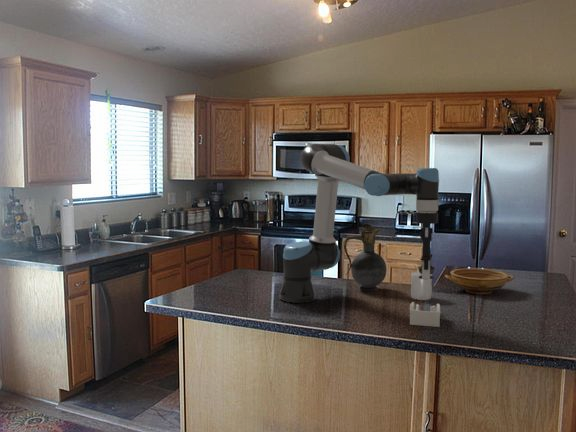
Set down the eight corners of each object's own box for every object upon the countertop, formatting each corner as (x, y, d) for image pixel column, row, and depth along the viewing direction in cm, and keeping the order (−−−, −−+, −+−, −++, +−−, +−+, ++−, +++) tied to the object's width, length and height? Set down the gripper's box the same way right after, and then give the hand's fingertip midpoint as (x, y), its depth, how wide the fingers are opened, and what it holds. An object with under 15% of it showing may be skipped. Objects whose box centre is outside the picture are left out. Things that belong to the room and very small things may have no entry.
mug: (433, 303, 211) (433, 278, 210) (412, 302, 212) (412, 277, 211) (430, 296, 223) (430, 272, 222) (410, 295, 224) (410, 271, 223)
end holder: (409, 324, 182) (409, 310, 181) (411, 315, 193) (411, 302, 193) (439, 326, 179) (439, 312, 179) (439, 317, 191) (439, 303, 190)
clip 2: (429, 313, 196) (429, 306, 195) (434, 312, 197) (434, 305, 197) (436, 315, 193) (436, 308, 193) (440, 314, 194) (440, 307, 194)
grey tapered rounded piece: (415, 276, 188) (415, 243, 187) (431, 275, 189) (431, 242, 188) (420, 279, 183) (421, 245, 182) (437, 279, 183) (437, 245, 182)
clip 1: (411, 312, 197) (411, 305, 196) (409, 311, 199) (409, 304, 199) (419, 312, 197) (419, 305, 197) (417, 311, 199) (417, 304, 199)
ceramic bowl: (451, 297, 220) (452, 278, 219) (438, 284, 244) (438, 267, 243) (523, 298, 218) (524, 279, 218) (503, 285, 242) (503, 268, 242)
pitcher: (388, 292, 229) (389, 224, 227) (344, 292, 229) (345, 224, 227) (383, 286, 240) (384, 221, 237) (342, 286, 240) (342, 222, 238)
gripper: (438, 214, 174) (437, 282, 176) (438, 210, 192) (436, 272, 194) (415, 213, 176) (414, 281, 178) (417, 209, 194) (416, 271, 196)
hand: (426, 276), depth 186 cm, fingers closed on grey tapered rounded piece, 6 cm apart
